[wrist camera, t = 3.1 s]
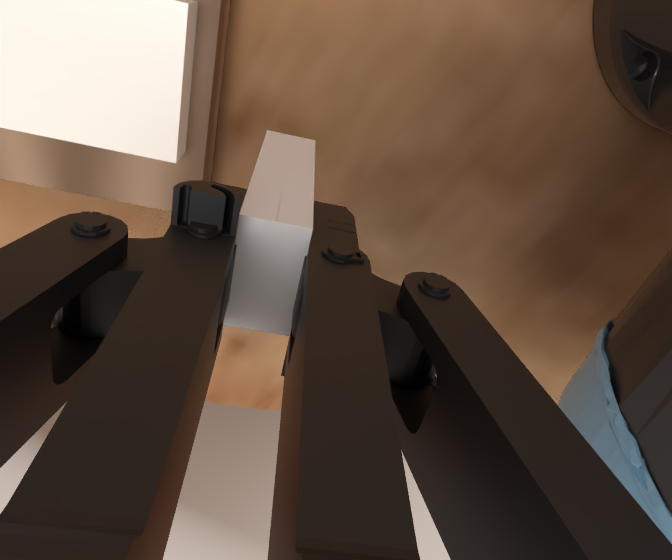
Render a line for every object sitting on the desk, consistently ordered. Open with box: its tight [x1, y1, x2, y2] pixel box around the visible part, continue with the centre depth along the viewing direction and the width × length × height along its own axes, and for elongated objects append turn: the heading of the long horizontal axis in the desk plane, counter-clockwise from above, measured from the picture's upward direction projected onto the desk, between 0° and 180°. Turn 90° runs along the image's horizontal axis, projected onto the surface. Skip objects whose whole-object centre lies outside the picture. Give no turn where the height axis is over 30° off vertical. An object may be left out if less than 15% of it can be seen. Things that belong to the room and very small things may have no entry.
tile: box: [0, 0, 198, 163], centre depth 24 cm, size 10×7×2 cm
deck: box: [0, 0, 231, 212], centre depth 26 cm, size 12×14×3 cm
